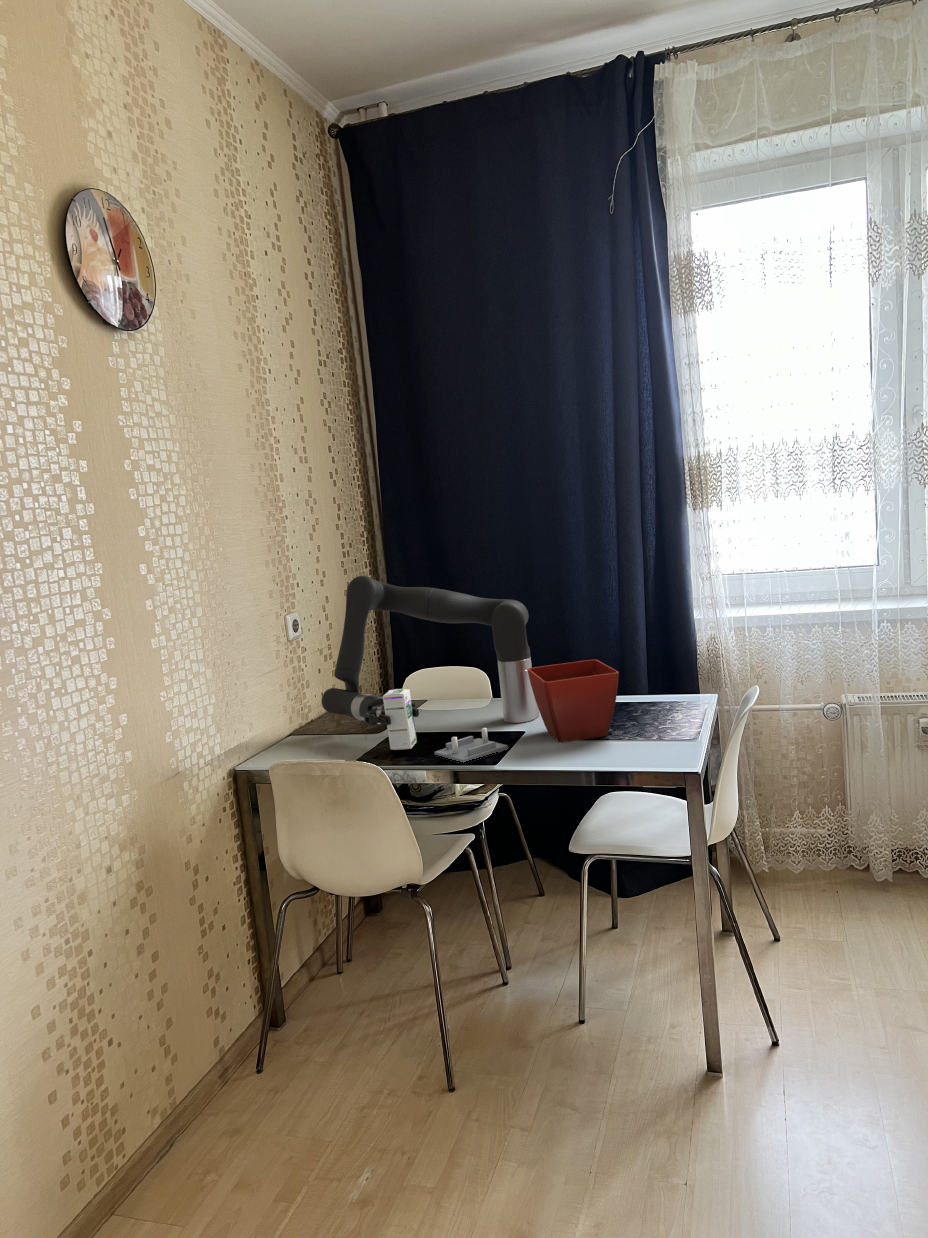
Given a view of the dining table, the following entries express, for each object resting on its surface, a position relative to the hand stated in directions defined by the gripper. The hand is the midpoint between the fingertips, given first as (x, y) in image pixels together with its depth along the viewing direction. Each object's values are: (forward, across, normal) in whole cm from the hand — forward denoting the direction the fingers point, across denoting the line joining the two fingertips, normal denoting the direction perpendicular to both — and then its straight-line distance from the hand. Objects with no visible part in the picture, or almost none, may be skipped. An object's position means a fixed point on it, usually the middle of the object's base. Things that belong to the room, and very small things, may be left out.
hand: (403, 716), depth 230 cm
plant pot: (+25, +36, +10) cm, 45 cm away
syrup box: (-2, 0, +8) cm, 8 cm away
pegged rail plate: (+14, +10, +10) cm, 20 cm away
